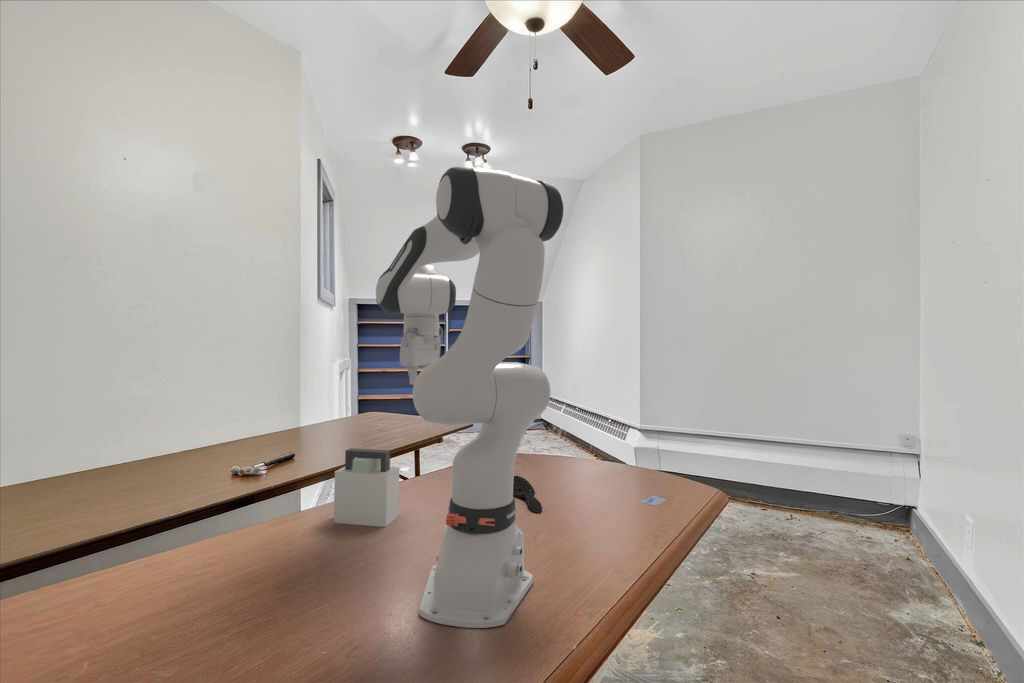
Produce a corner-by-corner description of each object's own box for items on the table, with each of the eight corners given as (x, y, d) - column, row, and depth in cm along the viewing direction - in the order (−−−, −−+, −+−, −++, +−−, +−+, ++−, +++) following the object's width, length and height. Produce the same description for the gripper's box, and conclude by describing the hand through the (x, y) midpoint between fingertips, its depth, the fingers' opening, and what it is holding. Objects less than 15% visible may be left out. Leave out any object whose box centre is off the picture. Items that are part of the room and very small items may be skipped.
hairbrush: (522, 505, 117) (501, 473, 141) (522, 520, 117) (500, 485, 142) (554, 503, 119) (527, 472, 143) (554, 517, 119) (527, 484, 144)
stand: (398, 516, 115) (399, 454, 115) (385, 527, 108) (387, 461, 108) (349, 512, 117) (350, 452, 117) (333, 522, 110) (334, 458, 110)
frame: (389, 469, 113) (390, 450, 113) (385, 471, 111) (385, 452, 111) (350, 466, 115) (350, 448, 115) (345, 469, 112) (345, 450, 112)
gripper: (419, 327, 110) (418, 386, 110) (444, 330, 130) (443, 380, 130) (393, 327, 111) (392, 386, 111) (422, 330, 131) (422, 380, 131)
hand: (420, 383), depth 120 cm, fingers open, 8 cm apart
